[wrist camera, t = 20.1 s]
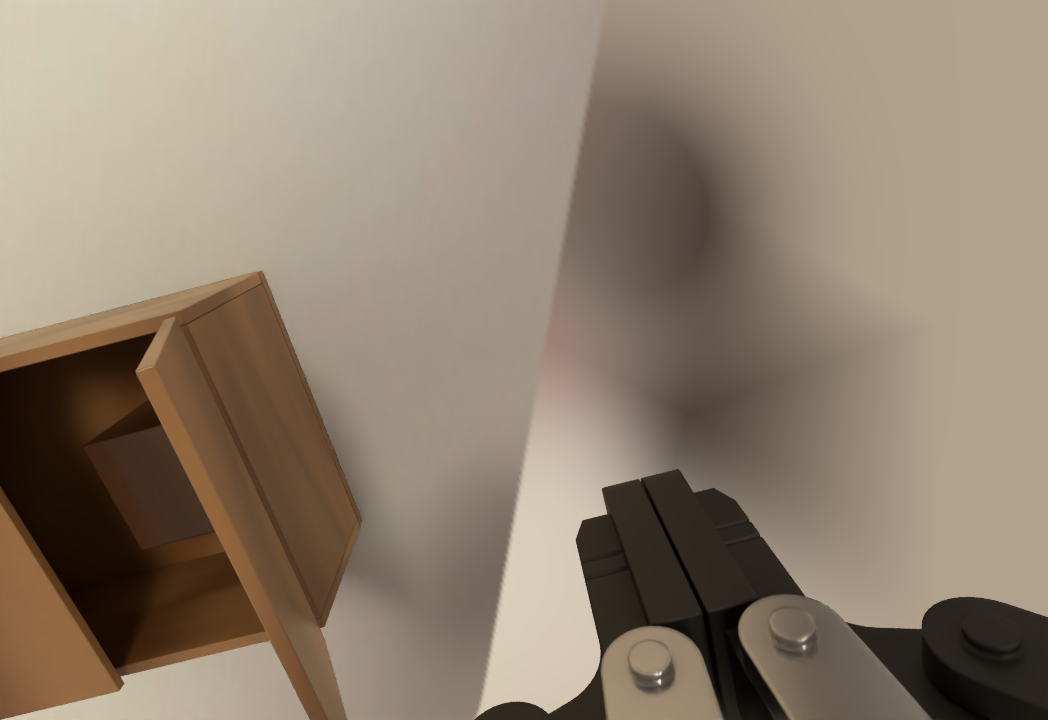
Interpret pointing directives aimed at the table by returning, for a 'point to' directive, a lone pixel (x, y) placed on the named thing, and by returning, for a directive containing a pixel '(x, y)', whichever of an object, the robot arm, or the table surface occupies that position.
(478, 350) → the table surface
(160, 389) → the flap
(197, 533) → the block
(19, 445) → the carton
